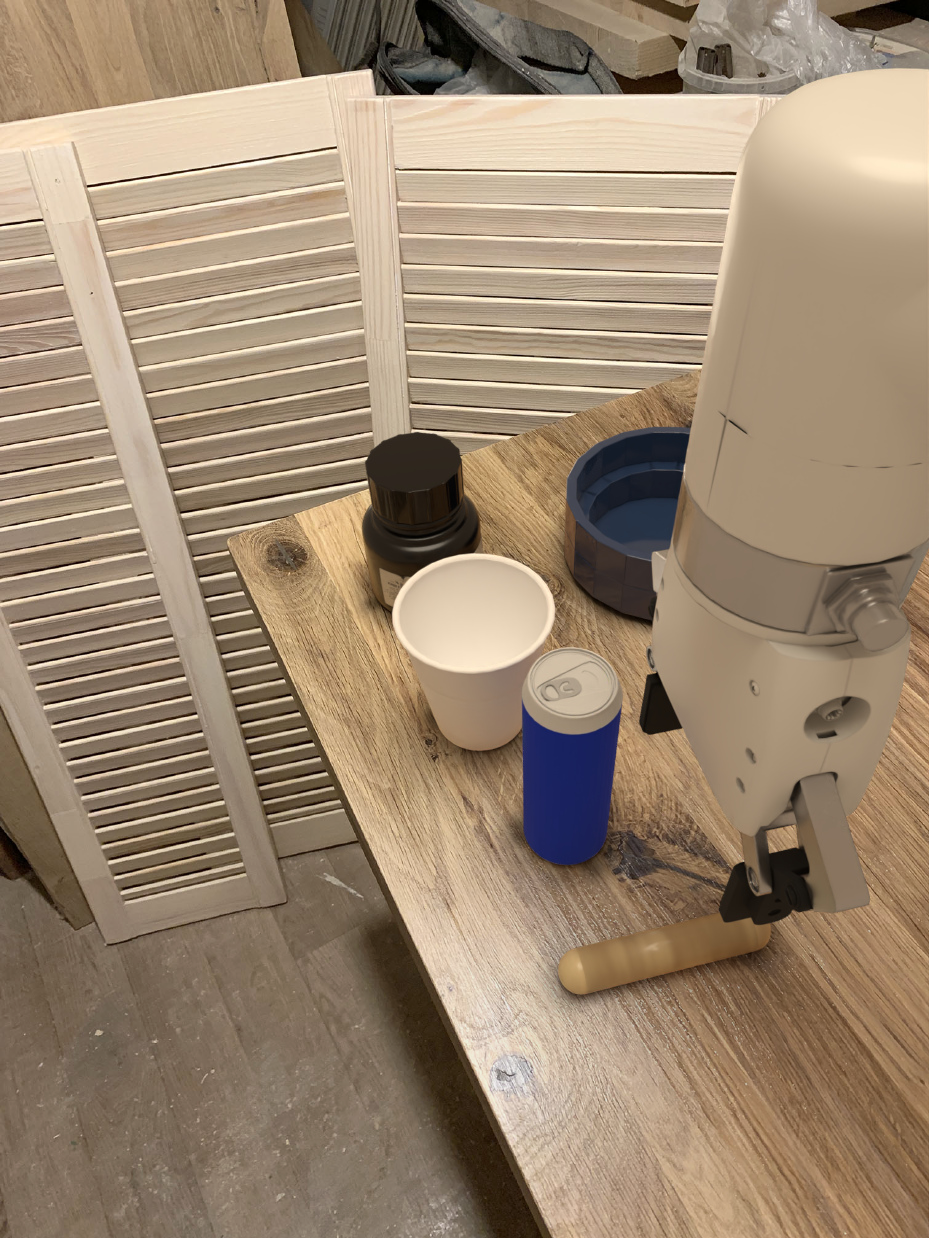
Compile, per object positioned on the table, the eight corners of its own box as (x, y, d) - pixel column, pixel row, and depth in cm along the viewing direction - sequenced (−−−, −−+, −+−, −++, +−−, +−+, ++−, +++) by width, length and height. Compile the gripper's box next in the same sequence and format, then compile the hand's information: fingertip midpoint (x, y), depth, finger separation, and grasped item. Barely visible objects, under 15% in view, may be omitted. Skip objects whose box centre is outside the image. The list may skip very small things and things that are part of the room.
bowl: (718, 474, 80) (730, 412, 76) (804, 603, 70) (824, 539, 65) (540, 509, 79) (541, 446, 74) (600, 646, 68) (605, 583, 63)
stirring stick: (755, 913, 54) (763, 894, 52) (773, 952, 52) (782, 934, 50) (552, 963, 52) (553, 946, 50) (564, 1005, 51) (566, 989, 49)
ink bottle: (392, 640, 69) (372, 520, 61) (350, 568, 75) (326, 448, 66) (507, 596, 72) (504, 473, 63) (459, 529, 77) (449, 408, 69)
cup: (577, 747, 62) (583, 639, 54) (439, 798, 60) (424, 694, 52) (517, 645, 68) (515, 534, 60) (390, 688, 66) (370, 580, 58)
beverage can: (583, 785, 60) (595, 631, 49) (621, 852, 57) (642, 702, 46) (510, 812, 59) (505, 661, 48) (544, 882, 56) (547, 736, 45)
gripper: (1083, 720, 24) (885, 977, 37) (786, 363, 35) (713, 652, 48) (812, 778, 23) (704, 1021, 36) (598, 392, 35) (574, 680, 47)
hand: (710, 809), depth 42 cm, fingers open, 9 cm apart
